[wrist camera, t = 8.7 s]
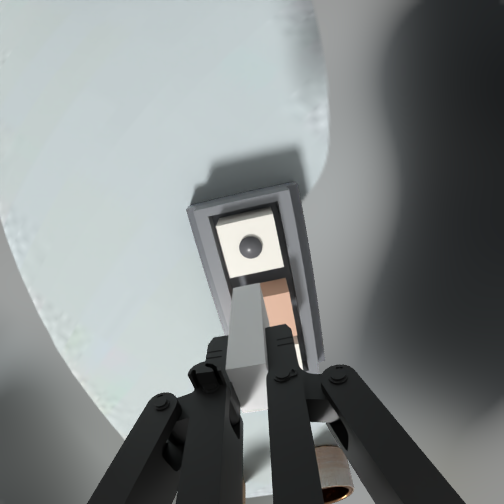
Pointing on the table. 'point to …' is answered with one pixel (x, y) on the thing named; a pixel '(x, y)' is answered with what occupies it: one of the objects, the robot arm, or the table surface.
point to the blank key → (278, 303)
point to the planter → (334, 474)
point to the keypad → (295, 270)
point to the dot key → (249, 242)
